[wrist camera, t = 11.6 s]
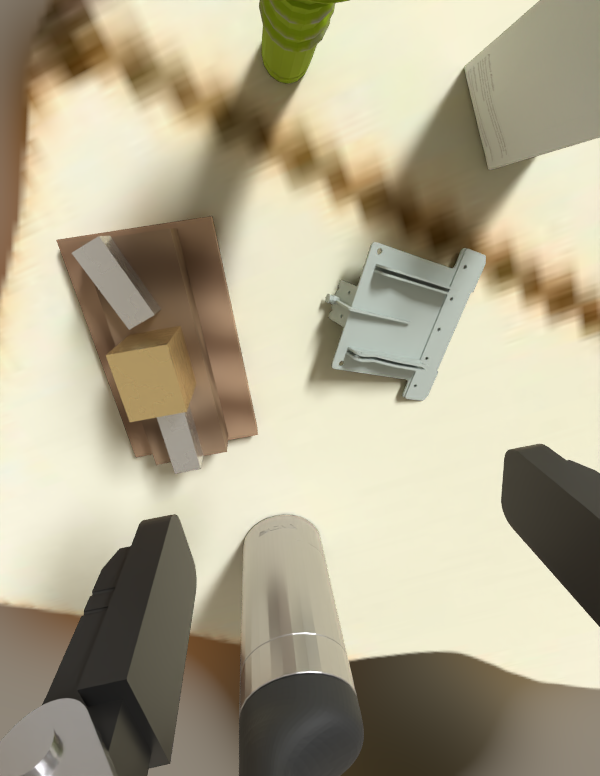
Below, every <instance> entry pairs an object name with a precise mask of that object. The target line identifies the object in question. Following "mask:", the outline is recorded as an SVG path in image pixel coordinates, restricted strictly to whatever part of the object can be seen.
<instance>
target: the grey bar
mask: <svg viewBox="0 0 600 776" xmlns="http://www.w3.org/2000/svg"><path fill="white" fill-rule="evenodd" d="M72 254H73V256H74V257H75V258H76V260H77V261H78V262H79V264H80V265H81V266H82V268H83V269H84V270H85V272H86V273H87V274H88V276H89V277H90V278H91V280H92V281H93V282H94V284H95V285H96V286H97V288H98V289H99V290H100V292H101V293H102V294H103V296H104V297H105V298H106V300H107V301H108V302H109V304H110V305H111V306H112V308H113V309H114V310H115V312H116V313H117V314H118V316H119V317H120V318H121V320H122V321H123V322H124V324H125V325H126V326H127V328H128V329H129V330H130V329H131V328H133V327H135V326H137V325H138V324H140V323H142V322H143V321H145V320H147V319H149V318H150V317H152V316H154V315H155V314H156V313H157V312H159V311H160V310H161V308H160V307H159V305H158V304H157V302H156V301H155V300H154V298H153V297H152V295H151V294H150V292H149V291H148V289H147V288H146V287H145V285H144V284H143V282H142V281H141V279H140V278H139V277H138V275H137V274H136V272H135V271H134V269H133V268H132V267H131V265H130V264H129V262H128V261H127V259H126V258H125V256H124V255H123V254H122V252H121V251H120V249H119V248H118V246H117V245H116V244H115V242H114V241H113V239H112V238H111V236H98V237H97V238H95V239H93V240H92V241H90V242H88V243H87V244H85V245H84V246H82V247H80V248H79V249H77V250H75V251H74V252H72ZM157 420H158V423H159V426H160V429H161V432H162V435H163V438H164V441H165V444H166V448H167V451H168V454H169V457H170V460H171V463H172V466H173V469H174V472H175V474H176V473H181V472H186V471H191V470H197V469H201V465H202V460H203V451H202V448H201V444H200V441H199V437H198V434H197V430H196V427H195V423H194V419H193V416H192V412H191V409H190V405H189V407H188V409H187V412H184V413H178V414H173V415H167V416H162V417H157Z"/></svg>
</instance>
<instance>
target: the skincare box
mask: <svg viewBox="0 0 600 776" xmlns="http://www.w3.org/2000/svg"><path fill="white" fill-rule="evenodd" d="M464 69H465V74H466V78H467V82H468V86H469V91H470V95H471V99H472V103H473V108H474V112H475V116H476V120H477V124H478V129H479V133H480V137H481V141H482V145H483V148H484V152H485V156H486V161H487V166H488V169H489V170H492V169H496V168H499V167H503V166H506V165H509V164H512V163H515V162H519V161H522V160H525V159H529V158H532V157H535V156H539V155H542V154H545V153H549V152H552V151H556V150H559V149H562V148H566V147H569V146H572V145H576V144H579V143H582V142H586V141H589V140H592V139H596V138H599V137H600V0H540V1H538V2H537V3H536V4H535V5H534V6H533V7H532V8H530V9H529V10H528V11H527V12H526V13H525V14H524V15H522V16H521V17H520V18H519V19H518V20H517V21H516V22H515V23H513V24H512V25H511V26H510V27H509V28H508V29H507V30H505V31H504V32H503V33H502V34H501V35H500V36H499V37H497V38H496V39H495V40H494V41H493V42H492V43H491V44H489V45H488V46H487V47H486V48H485V49H484V50H483V51H481V52H480V53H479V54H478V55H477V56H476V57H475V58H473V59H472V60H471V61H470V62H469V63H468V64H467V65H465V67H464Z"/></svg>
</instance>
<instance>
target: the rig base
mask: <svg viewBox="0 0 600 776" xmlns="http://www.w3.org/2000/svg"><path fill="white" fill-rule="evenodd" d="M98 236H111V238H112V239H113V241H114V242H115V244H116V245H117V246H118V248H119V249H120V251H121V252H122V254H123V255H124V256H125V258H126V259H127V261H128V262H129V264H130V265H131V267H132V268H133V269H134V271H135V272H136V274H137V275H138V277H139V278H140V279H141V281H142V282H143V284H144V285H145V287H146V288H147V289H148V291H149V292H150V294H151V295H152V297H153V298H154V300H155V301H156V302H157V304H158V305H159V307H160V308H161V310H160V311H159V312H157V313H156V314H155V315H154V316H152V317H150V318H149V319H147V320H145V321H143V322H142V323H140V324H138V325H137V326H135V327H133V328H131V329H130V330H129V329H128V328H127V326H126V325H125V324H124V322H123V321H122V320H121V318H120V317H119V316H118V314H117V313H116V312H115V310H114V309H113V308H112V306H111V305H110V304H109V302H108V301H107V300H106V298H105V297H104V296H103V294H102V293H101V292H100V290H99V289H98V288H97V286H96V285H95V284H94V282H93V281H92V280H91V278H90V277H89V276H88V274H87V273H86V272H85V270H84V269H83V268H82V266H81V265H80V264H79V262H78V261H77V260H76V258H75V257H74V256H73V254H72V252H74V251H75V250H77V249H79V248H80V247H82V246H84V245H85V244H87V243H88V242H90V241H92V240H93V239H95V238H97V237H98ZM57 243H58V246H59V249H60V251H61V254H62V257H63V260H64V262H65V265H66V268H67V271H68V273H69V276H70V279H71V281H72V284H73V287H74V290H75V292H76V295H77V298H78V301H79V303H80V306H81V309H82V311H83V314H84V317H85V320H86V322H87V325H88V328H89V331H90V333H91V336H92V339H93V342H94V344H95V347H96V350H97V352H98V355H99V358H100V361H101V363H102V366H103V369H104V372H105V374H106V377H107V380H108V383H109V385H110V388H111V391H112V393H113V396H114V399H115V402H116V404H117V407H118V410H119V413H120V415H121V418H122V421H123V424H124V426H125V429H126V432H127V434H128V437H129V440H130V443H131V445H132V448H133V451H134V454H135V456H136V457H140V456H146V455H151V454H153V457H154V459H155V462H156V465H158V464H163V463H169V462H171V460H170V457H169V454H168V451H167V448H166V444H165V441H164V438H163V435H162V432H161V429H160V426H159V423H158V420H157V417H156V418H151V419H145V420H140V421H134V422H129V419H128V416H127V413H126V410H125V408H124V405H123V402H122V399H121V397H120V394H119V391H118V388H117V385H116V383H115V380H114V377H113V374H112V372H111V369H110V366H109V363H108V361H107V358H106V354H108V353H109V352H110V351H111V350H112V349H113V348H115V347H116V346H117V345H118V344H119V343H120V342H122V341H123V340H124V339H125V338H126V337H127V336H129V335H130V334H135V333H141V332H147V331H153V330H159V329H165V328H171V327H176V326H181V328H182V332H183V336H184V339H185V343H186V347H187V351H188V354H189V358H190V362H191V365H192V369H193V373H194V376H195V380H196V387H195V389H194V392H193V395H192V398H191V401H190V404H189V405H190V409H191V412H192V416H193V419H194V423H195V427H196V430H197V434H198V437H199V441H200V444H201V448H202V451H203V456H206V455H211V454H217V453H222V452H227V445H228V440H232V439H237V438H243V437H248V436H253V435H258V432H257V424H256V419H255V414H254V410H253V405H252V400H251V395H250V391H249V386H248V381H247V377H246V372H245V367H244V363H243V358H242V353H241V348H240V344H239V339H238V334H237V330H236V325H235V320H234V316H233V311H232V306H231V301H230V297H229V292H228V287H227V283H226V278H225V273H224V269H223V264H222V259H221V254H220V250H219V245H218V240H217V236H216V231H215V226H214V221H213V217H211V216H209V217H203V218H196V219H190V220H183V221H177V222H170V223H164V224H157V225H150V226H144V227H137V228H131V229H124V230H118V231H111V232H105V233H98V234H92V235H85V236H79V237H72V238H66V239H59V240H57Z"/></svg>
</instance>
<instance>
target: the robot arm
mask: <svg viewBox="0 0 600 776" xmlns="http://www.w3.org/2000/svg"><path fill="white" fill-rule="evenodd" d="M501 503H502V509H503V512H504V515H505V517H506V519H507V521H508V523H509V524H510V526H511V527H512V528H513V529H514V530H515V531H516V533H517V534H518V535H519V536H520V537H521V538H522V539H523V541H524V542H525V543H526V544H527V545H528V546H529V547H530V548H531V550H532V551H533V552H534V553H535V554H536V555H537V556H538V558H539V559H540V560H541V561H542V562H543V563H544V564H545V565H546V567H547V568H548V569H549V570H550V571H551V572H552V573H553V575H554V576H555V577H556V578H557V579H558V580H559V581H560V582H561V584H562V585H563V586H564V587H565V588H566V589H567V590H568V591H569V593H570V594H571V595H572V596H573V597H574V598H575V599H576V601H577V602H578V603H579V604H580V605H581V606H582V607H583V608H584V610H585V611H586V612H587V613H588V614H589V615H590V616H591V618H592V619H593V620H594V621H595V622H596V623H597V624H598V625H599V627H600V473H598V472H597V471H595V470H593V469H590V468H588V467H585V466H583V465H581V464H578V463H576V462H573V461H571V460H567V461H566V460H565V459H564V458H562V457H561V456H560V455H558V454H557V453H555V452H554V451H553V450H551V449H550V448H549V447H547V446H545V445H543V444H536V445H531V446H526V447H520V448H515V449H510V450H508V451H507V452H506V454H505V458H504V470H503V483H502V497H501ZM195 594H196V569H195V564H194V561H193V558H192V555H191V552H190V549H189V546H188V543H187V540H186V537H185V534H184V531H183V528H182V525H181V522H180V520H179V518H178V516H177V515H175V514H173V515H168V516H163V517H158V518H153V519H148V520H143V521H142V522H141V523H140V524H139V527H138V529H137V532H136V534H135V537H134V540H133V542H132V545H131V546H130V547H125V548H120V549H119V550H118V551H117V552H116V553H115V555H114V556H113V557H112V558H111V559H110V560H109V562H108V563H107V564H106V565H105V566H104V568H103V569H102V570H101V573H100V575H99V577H98V580H97V582H96V584H95V586H94V589H93V591H92V596H90V598H89V600H88V602H87V605H86V607H85V609H84V616H81V618H80V621H79V623H78V625H77V628H76V630H75V632H74V634H73V637H72V639H71V641H70V644H69V646H68V648H67V650H66V653H65V655H64V657H63V660H62V662H61V664H60V666H59V669H58V671H57V673H56V676H55V678H54V680H53V683H52V685H51V687H50V689H49V692H48V694H47V696H46V698H45V700H44V702H43V704H42V706H40V707H38V708H37V709H35V710H33V711H32V712H31V713H29V714H28V715H26V716H25V717H24V718H23V719H22V720H20V721H19V722H18V723H17V724H16V725H15V726H14V727H13V728H12V729H11V730H10V731H9V732H8V733H7V734H6V735H5V736H4V737H3V739H2V740H1V741H0V776H147V774H148V769H149V768H153V767H157V766H161V765H166V764H170V761H171V754H172V747H173V741H174V734H175V727H176V721H177V714H178V707H179V701H180V693H181V687H182V681H183V674H184V667H185V660H186V654H187V647H188V641H189V634H190V628H191V621H192V614H193V608H194V601H195ZM239 716H240V719H239V776H340V775H341V774H343V773H344V772H345V771H346V770H347V769H348V768H349V767H350V766H351V765H352V764H353V762H354V761H355V760H356V758H357V757H358V755H359V753H360V750H361V748H362V744H363V738H364V737H363V736H364V730H363V723H362V717H361V713H360V708H359V705H358V700H357V696H356V692H355V687H354V683H353V678H352V674H351V670H350V665H349V661H348V657H347V653H346V648H345V644H344V640H343V635H342V631H341V627H340V622H339V618H338V613H337V609H336V605H335V600H334V596H333V592H332V587H331V583H330V578H329V574H328V570H327V565H326V560H325V556H324V551H323V547H322V543H321V538H320V535H319V533H318V530H317V529H316V528H315V526H314V525H313V524H312V523H310V522H309V521H308V520H306V519H304V518H301V517H298V516H294V515H278V516H273V517H270V518H267V519H265V520H263V521H261V522H259V523H258V524H256V525H255V526H254V527H253V528H252V529H251V530H250V531H249V532H248V534H247V536H246V538H245V541H244V544H243V573H242V614H241V659H240V714H239Z"/></svg>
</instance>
